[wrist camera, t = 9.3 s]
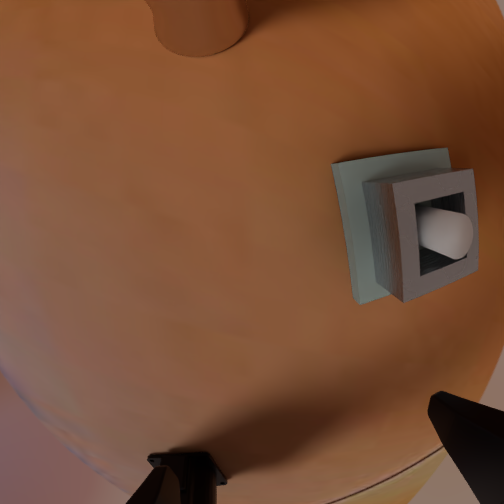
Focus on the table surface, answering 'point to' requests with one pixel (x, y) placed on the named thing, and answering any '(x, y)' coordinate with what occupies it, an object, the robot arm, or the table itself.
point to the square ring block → (405, 229)
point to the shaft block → (428, 219)
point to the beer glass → (199, 25)
